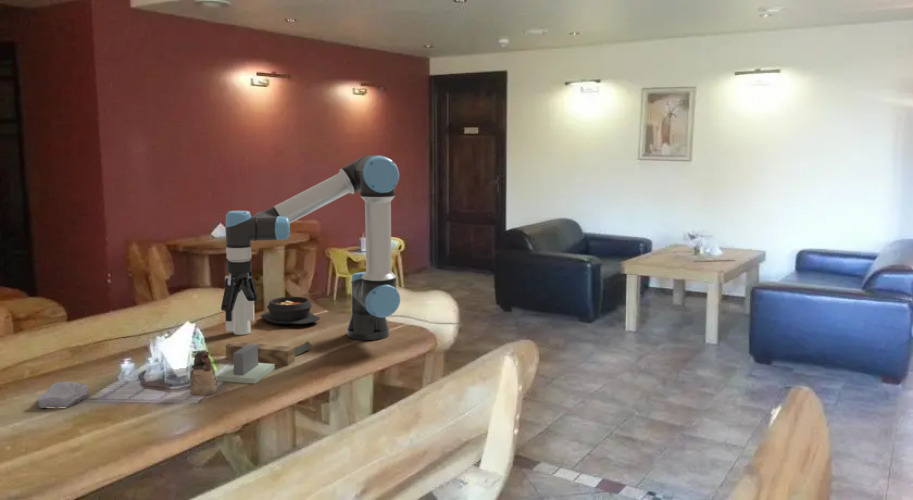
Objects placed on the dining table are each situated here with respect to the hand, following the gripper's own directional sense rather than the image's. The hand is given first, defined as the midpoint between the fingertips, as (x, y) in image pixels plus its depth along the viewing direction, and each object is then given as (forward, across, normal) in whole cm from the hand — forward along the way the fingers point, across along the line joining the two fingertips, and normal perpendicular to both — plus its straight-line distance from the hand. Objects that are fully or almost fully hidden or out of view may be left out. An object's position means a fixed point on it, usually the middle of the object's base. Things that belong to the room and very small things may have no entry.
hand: (240, 325), depth 236 cm
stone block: (+12, +44, -29) cm, 54 cm away
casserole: (+11, -48, -4) cm, 50 cm away
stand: (+11, +14, +8) cm, 20 cm away
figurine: (+12, +30, +3) cm, 32 cm away
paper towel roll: (+11, -29, -15) cm, 35 cm away
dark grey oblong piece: (+11, -10, +14) cm, 21 cm away
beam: (+11, 0, +6) cm, 13 cm away
